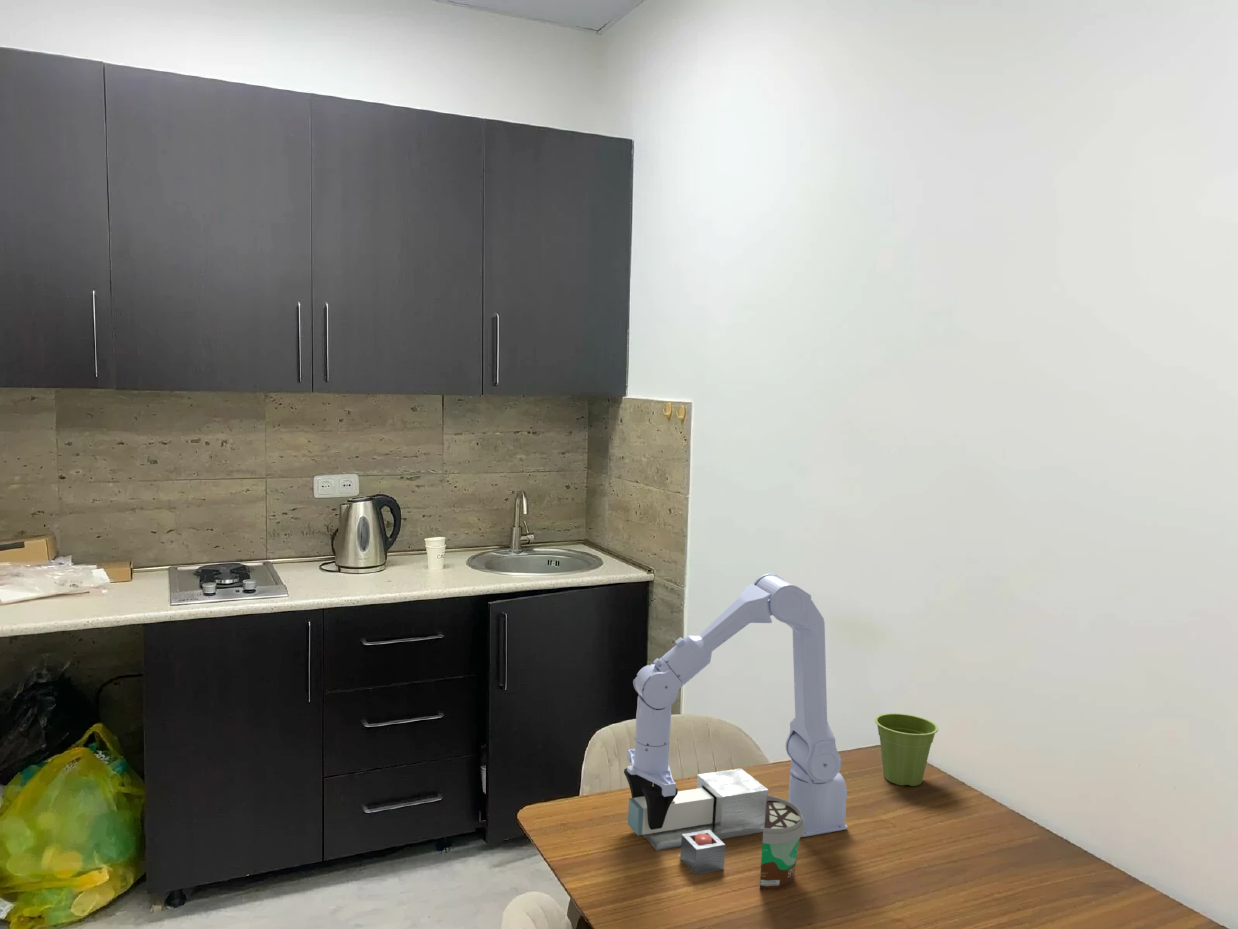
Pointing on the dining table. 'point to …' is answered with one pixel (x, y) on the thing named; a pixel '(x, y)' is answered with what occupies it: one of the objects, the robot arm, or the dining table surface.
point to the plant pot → (905, 746)
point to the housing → (724, 808)
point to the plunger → (703, 839)
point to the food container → (780, 843)
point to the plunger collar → (702, 853)
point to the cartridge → (674, 812)
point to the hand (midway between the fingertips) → (648, 819)
